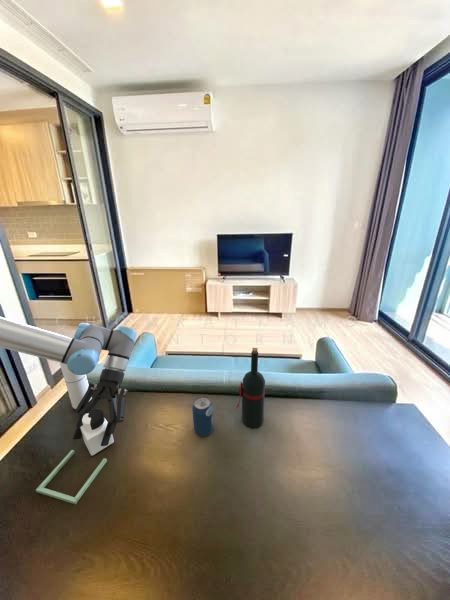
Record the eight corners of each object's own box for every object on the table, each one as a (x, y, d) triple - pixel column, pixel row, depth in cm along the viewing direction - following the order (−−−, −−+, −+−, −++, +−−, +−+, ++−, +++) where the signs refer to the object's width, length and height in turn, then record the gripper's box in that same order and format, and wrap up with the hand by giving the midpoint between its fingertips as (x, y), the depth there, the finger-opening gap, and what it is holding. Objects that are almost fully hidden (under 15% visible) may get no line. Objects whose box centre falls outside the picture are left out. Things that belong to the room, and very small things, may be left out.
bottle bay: (36, 492, 69) (35, 489, 69) (72, 451, 80) (71, 449, 80) (75, 504, 66) (74, 502, 66) (107, 460, 77) (106, 458, 77)
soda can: (217, 431, 87) (216, 404, 83) (199, 441, 83) (198, 413, 79) (207, 418, 92) (206, 392, 88) (190, 427, 89) (188, 400, 84)
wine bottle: (236, 410, 96) (236, 342, 85) (263, 412, 95) (266, 343, 84) (234, 427, 88) (234, 354, 78) (263, 429, 87) (267, 356, 77)
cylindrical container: (68, 408, 98) (51, 353, 89) (80, 395, 104) (66, 343, 96) (84, 410, 97) (69, 355, 88) (96, 397, 103) (83, 344, 94)
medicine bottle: (106, 429, 88) (99, 402, 83) (114, 442, 83) (108, 414, 79) (84, 442, 83) (76, 414, 79) (91, 456, 78) (83, 427, 74)
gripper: (147, 376, 88) (127, 448, 79) (94, 367, 93) (69, 434, 84) (137, 373, 82) (113, 451, 73) (80, 363, 87) (52, 435, 78)
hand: (90, 442), depth 79 cm, fingers closed on medicine bottle, 9 cm apart
